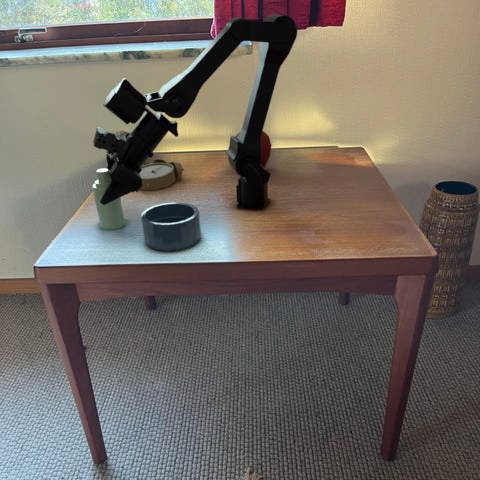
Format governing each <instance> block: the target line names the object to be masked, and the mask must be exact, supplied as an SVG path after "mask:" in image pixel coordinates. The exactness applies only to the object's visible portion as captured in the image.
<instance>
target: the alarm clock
mask: <svg viewBox="0 0 480 480" xmlns="http://www.w3.org/2000/svg"><path fill="white" fill-rule="evenodd" d="M145 164H146V165H142V167H141V168H142V171H141V172H140V173H139V174H140V176H141V178H142V184H143V185H142V187H141V188H140V189H139V190H142V191H154V190H160V189H164V188H167V187H169V186H171V185H173V184H175V182H176V181H178V180H180V179H181V178H182V176H183V172H184V170H185V169H184V167H183V165H182V163H181V162H179V161H178V162H177V161H169V162H168V161H167V160H166V159H163V158H156V159H155V160H154V161H153V162H151V163H145Z"/></svg>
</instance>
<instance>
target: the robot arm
mask: <svg viewBox="0 0 480 480" xmlns="http://www.w3.org/2000/svg"><path fill="white" fill-rule="evenodd" d="M297 36H298V26H297V24H296V22H295V21H294V19H293V18H292V17H290V15H289V16H288V15H284V14H279V13H278V14H277V13H272V14H269V15H267V16H266V17H264V18H263V19H261V18H241V17H232V18H230V19H229V20H228V21H227V22H226V25H225V26H224V27H223V28H222V29H221V31H220V32H219V33H218V34H217V35H216V36H215V37H214V38H213V39H212V40H211V42H210V43H209V44H208V45H207V46H206V47H205V49H204V50H203V51H202V52H201V53H200V54H199V55H198V56H197V58H195V60H194V61H193V62H192V63H191V64H190V65H189V66H188V67H187V68H186V69H185V70H184V71H182V72H181V73H179V74H177V75H176V76H174V77H172V78H171V79H170V80H169V81H168V82H166V83H165V84H163V85H162V87H160V89H159V90H158V91H154V92H149V93H145V94H143V93H141V92H140V90H138V89H137V88H136V87H134V85H132V83H131V82H130V80H129V79H126V77H123V78H122V79H121V81H120V82H119V83H117V85H116V86H115V87H114V88H112V89H111V91H109V93H108V95H107V96H106V98H105V100H104V101H103V104H102V105H103V107H104V108H106V110H108V111H109V112H111V114H113V115H114V116H115V117H117V118H118V119H119V120H120V121H121V122H123V123H124V124H125V125H129V124H130V123H131V124H132V125H133V124H134V125H135V124H136V125H135V127H134V128H133V129H132V130H131V131H130V130H129V131H126V134H125V135H124V136H122V135H119V134H117V133H116V132H114V131H111V130H108V129H106V128H102V127H98V126H97V127H96V129H95V133H94V137H93V141H92V143H93V147H94V148H96V149H99V150H105V151H106V153H105V158H106V163H107V165H106V168H105V169H108V170H109V176H110V178H111V181H110V183H109V185H108V187H107V188H106V190H105V192H104V194H103V196H102V198H101V200H100V203H101V204H103V205H106V204H108V203H110V202H112V201H114V200H116V199H118V198H123V197H124V196H126V195H128V194H131V193H134V192H136V193H138V192H139V191H140V190H141V189H140V188H141V187H142V185H143V184H142V178H141V176H140V174H139V173H140V172H141V171H142V168H141V167H142V166H143V164H144V163H145V164H146V162H147V161H148V159H149V158H150V159H152V158H153V157H154V156H155V153H154V151H155V150H156V148H157V147H158V146H159V144H161V142H162V141H163V139H164V138H165V137H166V135H167V134H168V133H171V134H172V135H173V136H174V137H176V138H178V137H179V131H178V125H179V124H178V123H179V122H177V121H176V120H170V119H169V118H171V119H181V118H183V117H184V116H186V114H187V113H189V110H190V109H191V107H192V106H193V104H194V102H195V101H196V99H197V97H198V95H199V93H200V90H201V89H202V88H203V86H204V85H205V84H206V82H207V81H208V80H209V79H210V78H211V77H212V76H213V75H214V73H216V71H218V69H219V68H220V67H221V66H222V65H223V64H224V63H225V61H226V60H227V59H228V58H230V56H231V55H232V54H233V53H234V52H235V50H237V48H238V47H239V46H240V45H241V44H242V43H243V42H254V43H255V42H256V43H258V64H257V68H256V72H255V76H254V80H253V84H252V87H251V88H252V89H251V91H250V96H249V98H248V99H249V100H248V104H247V108H246V111H245V116H244V119H243V122H242V127H241V129H240V131H239V132H240V133H239V132H238V133H239V134H238V133H237V134H238V136H237V137H235V136H234V135H230V138H229V146H228V149H227V150H226V152H225V154H227V156H228V157H227V162H228V163H229V165H230V167H231V168H232V169H233V170H234V172H236V174H238V176H240V177H239V178H238V179H237V185H236V186H235V189H236V190H235V191H236V192H235V193H236V202H237V204H236V208H238V209H247V210H257V211H263V210H264V209H265V208H266V207H267V205H268V204H269V203H270V202H271V198H270V197H269V186H268V185H269V184H268V183H269V180H270V178H271V173H270V172H269V171H268V170H267V169H266V168H265V167H264V168H263V167H262V166H261V165H260V162H261V153H262V150H261V135H262V131H264V127H265V123H266V119H267V116H268V112H269V109H270V106H271V101H272V99H273V95H274V91H275V87H276V83H277V79H278V75H279V72H280V69H281V67H282V66H283V64H284V62H285V61H286V59H287V58H288V57H289V55H290V53H291V51H292V48H293V47H294V44H295V41H296V40H297ZM154 112H155V113H156V114H155V113H154ZM163 113H164V114H165V115H164V114H163ZM166 116H167V117H168V118H167V117H166Z"/></svg>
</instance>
